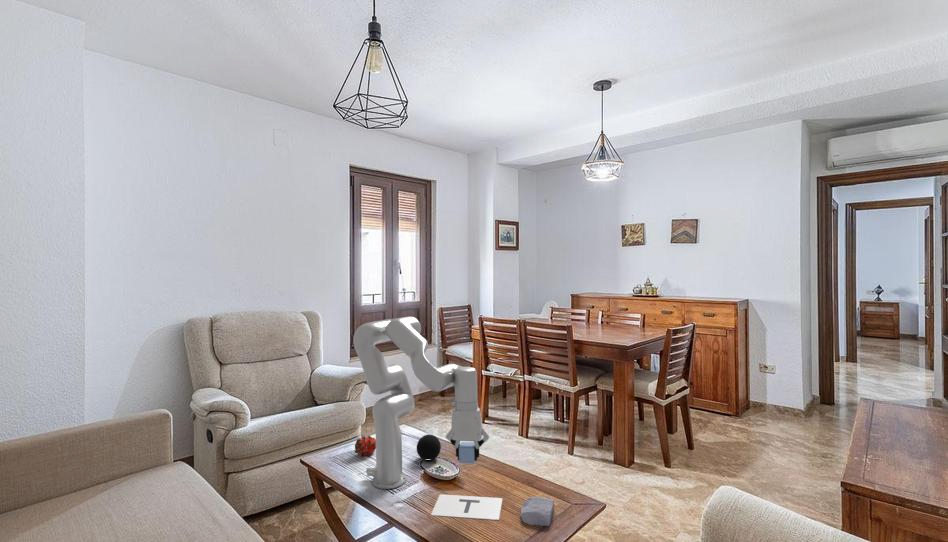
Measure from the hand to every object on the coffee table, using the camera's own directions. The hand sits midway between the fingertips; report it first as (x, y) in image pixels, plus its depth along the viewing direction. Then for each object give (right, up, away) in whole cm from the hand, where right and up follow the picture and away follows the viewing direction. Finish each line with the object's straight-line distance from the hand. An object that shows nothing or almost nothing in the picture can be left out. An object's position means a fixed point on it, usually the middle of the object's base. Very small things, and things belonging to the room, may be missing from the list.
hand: (467, 458), depth 150 cm
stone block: (+22, -16, -6) cm, 28 cm away
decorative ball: (-17, -16, +36) cm, 42 cm away
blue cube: (0, -1, 0) cm, 1 cm away
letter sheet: (0, -16, -1) cm, 16 cm away
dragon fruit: (-44, -16, +42) cm, 63 cm away
